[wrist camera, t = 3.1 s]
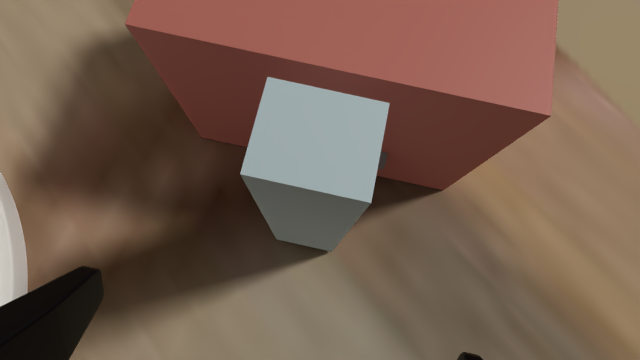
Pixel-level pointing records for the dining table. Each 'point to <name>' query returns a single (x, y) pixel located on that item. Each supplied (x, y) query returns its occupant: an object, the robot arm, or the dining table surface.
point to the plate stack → (11, 249)
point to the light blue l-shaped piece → (313, 161)
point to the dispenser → (365, 69)
